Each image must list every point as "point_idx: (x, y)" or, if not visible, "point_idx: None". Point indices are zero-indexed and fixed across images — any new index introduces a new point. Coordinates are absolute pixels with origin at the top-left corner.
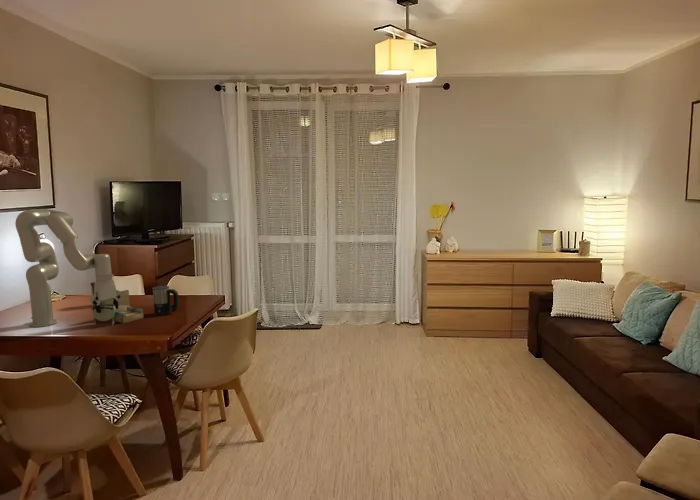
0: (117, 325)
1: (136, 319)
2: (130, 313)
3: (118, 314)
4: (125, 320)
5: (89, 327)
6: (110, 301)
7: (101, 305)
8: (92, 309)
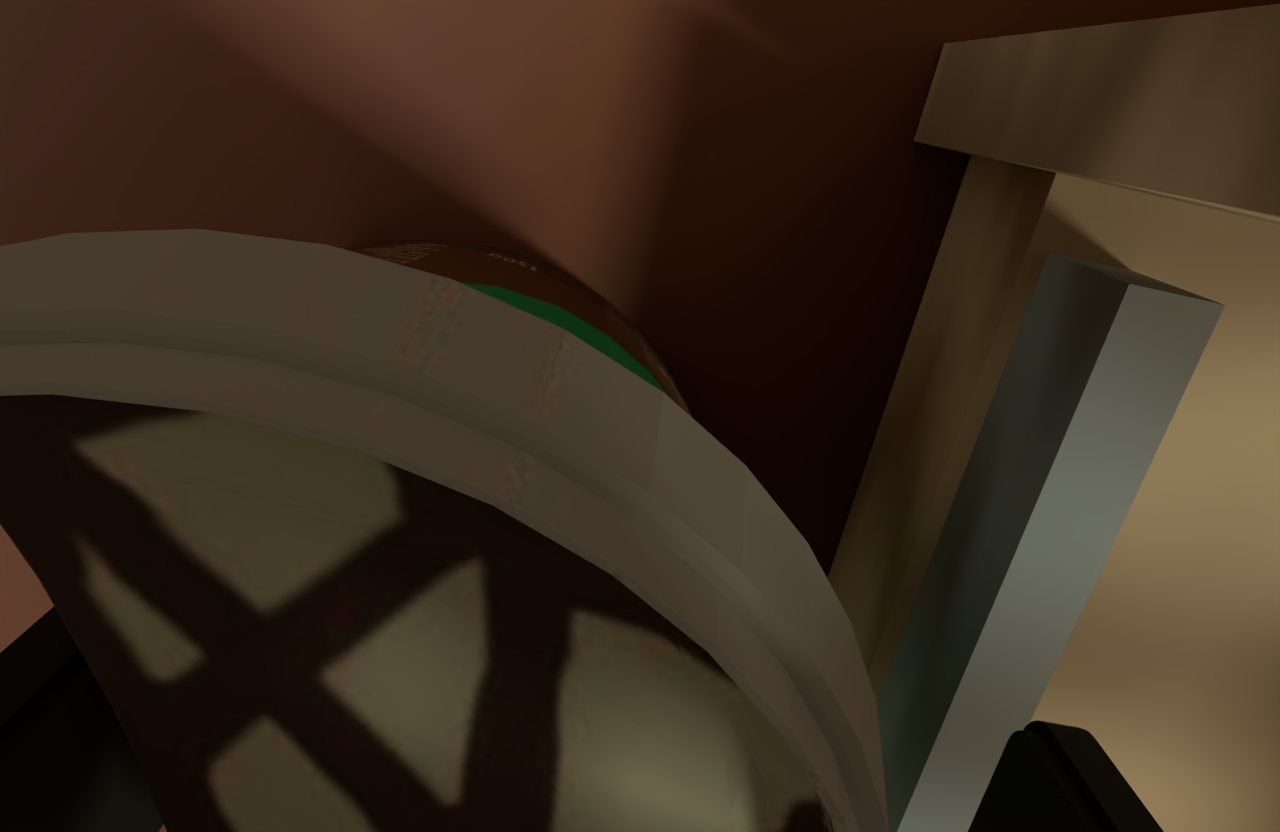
0: None
1: None
2: (1257, 763)
3: (895, 738)
4: None
5: None
6: None
7: (611, 533)
8: (21, 271)
